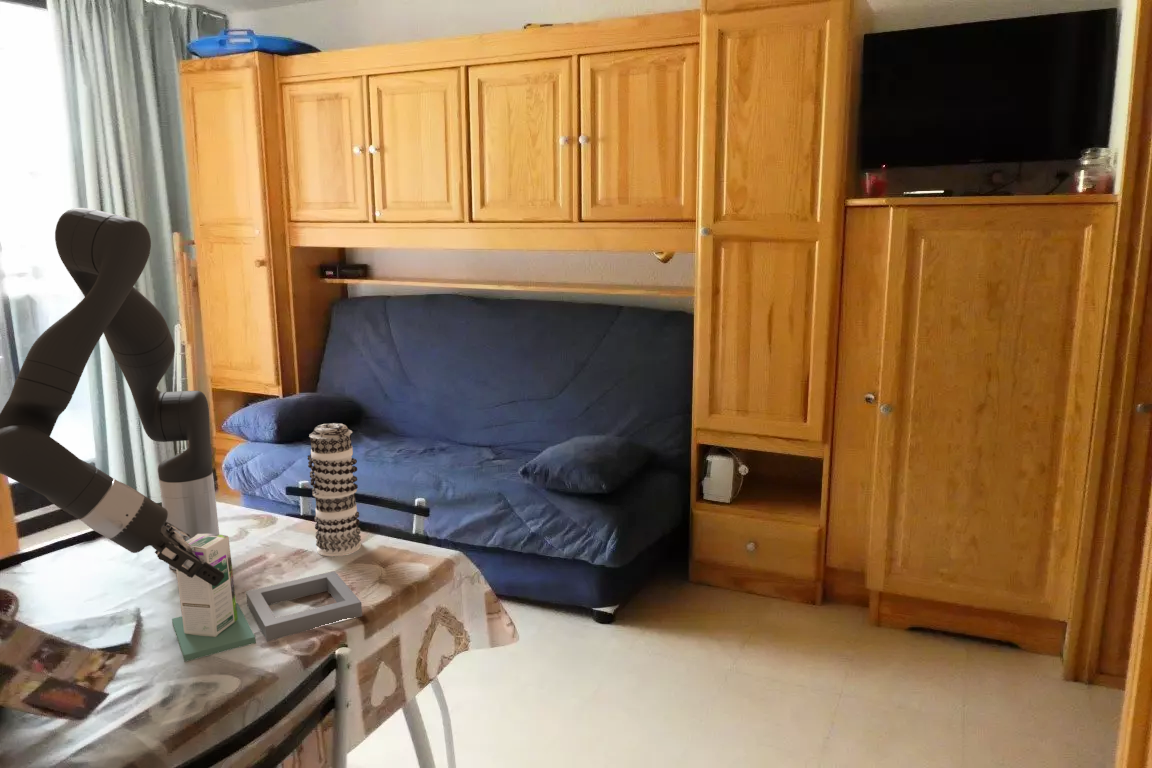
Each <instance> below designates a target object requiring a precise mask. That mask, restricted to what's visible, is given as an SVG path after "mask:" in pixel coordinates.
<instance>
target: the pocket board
mask: <svg viewBox="0 0 1152 768" xmlns="http://www.w3.org/2000/svg"><path fill="white" fill-rule="evenodd" d="M327 590H328V591H327ZM323 591H324V592H328V593H329V595H330V594H331V595H330V596H331V597H332V598H333V600H334V599H335V600H334V601H335V602H334V603H330V604H326V605H322V606H318V607H315V608H311V609H309V608H308V609H307V610H302V611H297V612H294V613H289V614H286V615H283V616H282V615H281V616H278V617H276V616H275V614H274V612H273V611H272V609H271V607H270V605H275V604H278V603H283V602H287V601H292V600H295V599H299V598H303V597H306V596H311V594H312V595H315V594H316V595H317V594H321V593H324V592H323ZM245 598H246V605H247V607H248V610H249V611H250V613H251V616H252V617H253V619H254V621H255V623H256V624H257V626H258V628H259V630H260V632H261V634H262V635H263V637H264V639H265V642H271V641H273V640H279V639H281V638H284V637H289V636H293V635H296V634H300V633H304V632H307V631H306V630H308V631H311V630H310V629H312V630H314V629H313V628H315V627H319V626H321V625H325V624H329V623H333V622H336V621H339V620H342V619H347V618H353V619H355V618H354V617H357V618H361V617H363V608H362V601H361V600H360V599H359V597H358V596H357V595H356V594H355V593H354V592H353V590H351V588H350V586H348V584H347V583H346V582H345V581H344V580H343V579H342V578H341V577H340V575H338V573H337V572H336V571H335V570H332V571H327V572H325V573H318V574H316V575H315V574H314V575H312V576H311V575H310V576H307V577H303V578H297V579H294V580H290V581H289V580H288V581H285V582H281V583H277V584H272V585H267V586H264V587H259V588H254V589H251V590H246V591H245ZM319 628H320V627H319Z"/></svg>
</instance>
